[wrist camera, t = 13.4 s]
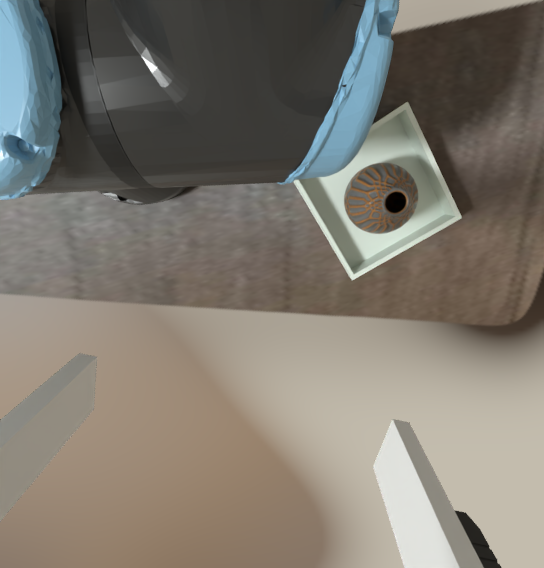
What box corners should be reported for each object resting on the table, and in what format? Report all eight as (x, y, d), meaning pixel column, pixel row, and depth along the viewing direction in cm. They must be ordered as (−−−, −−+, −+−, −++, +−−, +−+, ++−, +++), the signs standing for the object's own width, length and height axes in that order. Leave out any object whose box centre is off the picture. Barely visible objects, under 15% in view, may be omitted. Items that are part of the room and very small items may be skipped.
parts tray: (291, 178, 37) (291, 178, 34) (397, 108, 34) (407, 101, 31) (347, 273, 40) (352, 280, 37) (448, 214, 37) (462, 217, 34)
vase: (353, 155, 35) (374, 148, 27) (412, 175, 36) (451, 174, 27) (330, 217, 37) (343, 228, 29) (386, 236, 38) (416, 252, 29)
